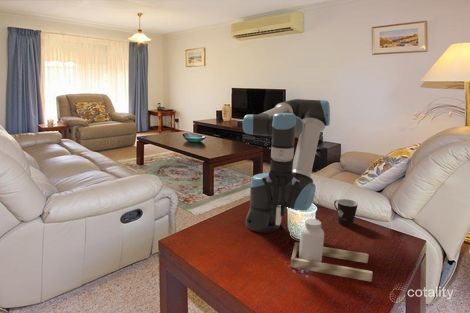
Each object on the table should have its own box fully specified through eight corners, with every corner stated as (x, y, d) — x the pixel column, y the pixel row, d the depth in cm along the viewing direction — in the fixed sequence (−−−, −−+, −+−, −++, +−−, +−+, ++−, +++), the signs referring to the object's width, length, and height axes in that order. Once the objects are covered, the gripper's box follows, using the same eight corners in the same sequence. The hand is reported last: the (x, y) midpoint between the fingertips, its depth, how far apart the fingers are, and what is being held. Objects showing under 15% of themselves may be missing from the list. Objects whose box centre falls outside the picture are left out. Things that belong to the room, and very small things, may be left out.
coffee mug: (358, 227, 137) (360, 206, 135) (338, 227, 137) (341, 205, 135) (349, 216, 149) (351, 197, 147) (331, 216, 149) (333, 196, 147)
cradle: (290, 267, 106) (291, 259, 105) (294, 249, 118) (295, 242, 117) (371, 281, 99) (372, 273, 98) (367, 261, 111) (368, 253, 110)
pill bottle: (308, 269, 105) (312, 228, 102) (293, 257, 112) (296, 219, 109) (326, 263, 109) (330, 224, 105) (311, 252, 116) (314, 215, 112)
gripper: (260, 159, 104) (258, 225, 109) (300, 163, 100) (295, 230, 105) (265, 155, 111) (262, 216, 116) (302, 158, 107) (297, 221, 112)
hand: (278, 223), depth 111 cm, fingers closed
